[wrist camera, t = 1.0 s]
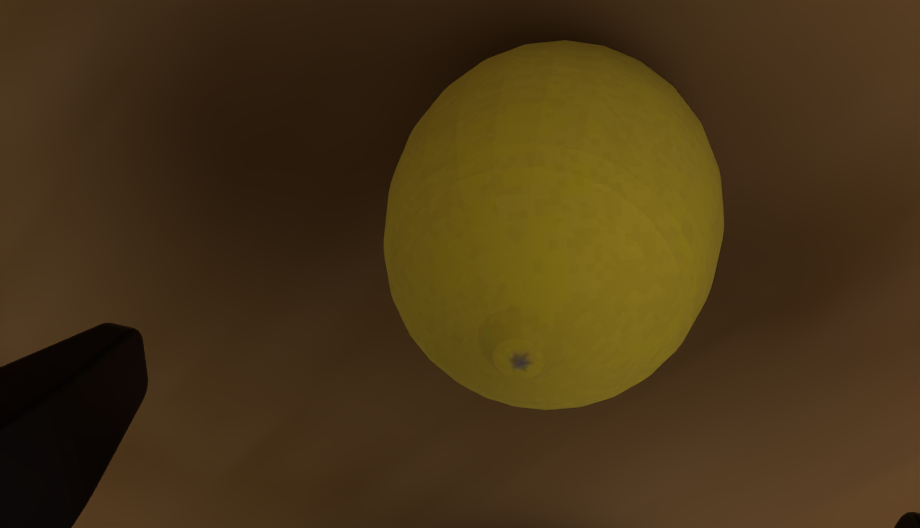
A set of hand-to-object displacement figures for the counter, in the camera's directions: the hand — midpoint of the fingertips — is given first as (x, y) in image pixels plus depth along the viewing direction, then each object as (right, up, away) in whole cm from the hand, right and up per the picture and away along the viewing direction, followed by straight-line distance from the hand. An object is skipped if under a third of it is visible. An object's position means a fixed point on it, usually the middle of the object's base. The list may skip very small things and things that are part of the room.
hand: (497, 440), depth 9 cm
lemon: (+2, +5, +8) cm, 10 cm away
